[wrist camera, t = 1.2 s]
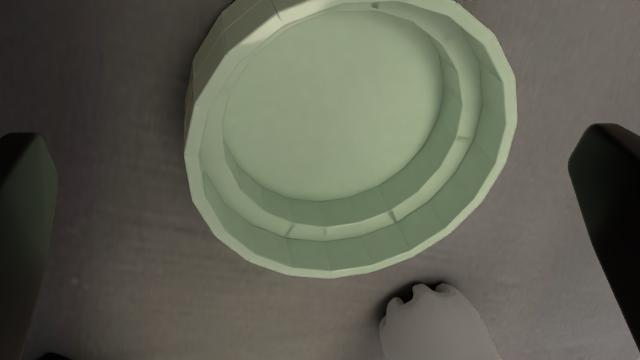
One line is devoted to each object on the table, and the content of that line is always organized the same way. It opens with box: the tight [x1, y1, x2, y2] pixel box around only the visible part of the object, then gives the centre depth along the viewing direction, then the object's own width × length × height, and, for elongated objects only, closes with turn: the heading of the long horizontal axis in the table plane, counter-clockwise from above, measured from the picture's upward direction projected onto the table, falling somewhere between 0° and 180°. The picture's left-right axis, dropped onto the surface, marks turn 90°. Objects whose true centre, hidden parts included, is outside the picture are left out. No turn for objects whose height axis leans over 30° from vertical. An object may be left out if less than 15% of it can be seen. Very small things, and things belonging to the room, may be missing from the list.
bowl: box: [184, 0, 518, 279], centre depth 20 cm, size 13×13×4 cm
